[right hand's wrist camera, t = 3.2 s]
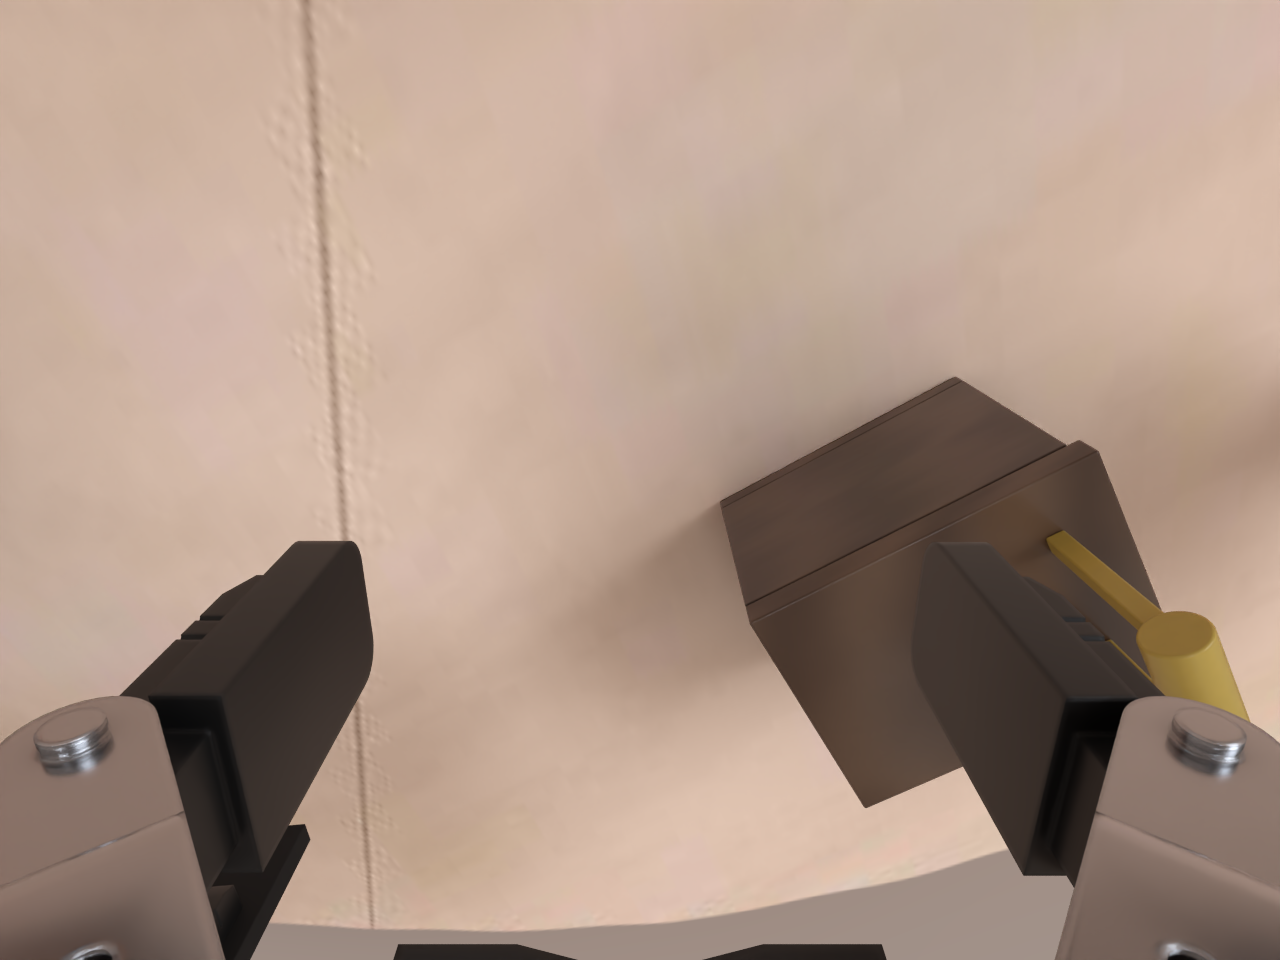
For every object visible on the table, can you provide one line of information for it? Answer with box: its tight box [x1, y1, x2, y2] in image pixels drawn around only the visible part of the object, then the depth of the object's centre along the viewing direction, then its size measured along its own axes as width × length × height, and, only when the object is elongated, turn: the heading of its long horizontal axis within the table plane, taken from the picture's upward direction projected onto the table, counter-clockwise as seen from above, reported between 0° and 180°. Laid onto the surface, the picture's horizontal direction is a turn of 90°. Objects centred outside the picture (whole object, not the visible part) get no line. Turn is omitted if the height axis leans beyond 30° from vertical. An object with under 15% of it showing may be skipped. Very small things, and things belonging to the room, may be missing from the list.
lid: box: [746, 440, 1250, 808], centre depth 26 cm, size 13×10×9 cm
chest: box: [720, 377, 1066, 607], centre depth 35 cm, size 13×10×10 cm
